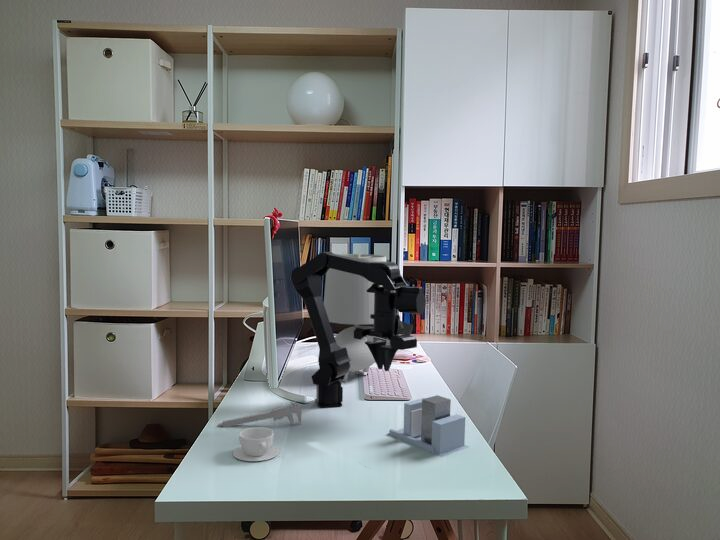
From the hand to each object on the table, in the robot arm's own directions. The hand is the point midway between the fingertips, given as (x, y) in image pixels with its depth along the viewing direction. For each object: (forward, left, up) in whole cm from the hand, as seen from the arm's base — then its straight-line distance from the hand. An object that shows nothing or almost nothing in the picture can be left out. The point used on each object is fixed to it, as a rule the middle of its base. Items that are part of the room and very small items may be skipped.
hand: (383, 370), depth 153 cm
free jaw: (+2, -19, -11) cm, 22 cm away
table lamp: (+2, +38, -12) cm, 40 cm away
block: (+5, -24, -11) cm, 27 cm away
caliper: (-32, -1, -12) cm, 34 cm away
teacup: (-34, -18, -12) cm, 41 cm away
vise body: (+4, -22, -12) cm, 26 cm away
